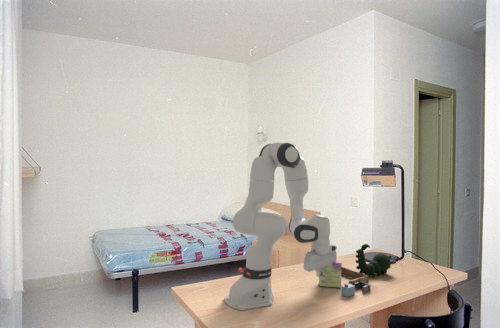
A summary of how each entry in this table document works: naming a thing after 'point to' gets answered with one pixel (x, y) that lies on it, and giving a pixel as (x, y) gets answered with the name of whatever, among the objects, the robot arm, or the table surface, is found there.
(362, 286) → the bracket
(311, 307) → the table surface
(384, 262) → the toy figurine
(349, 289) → the blue block with knob
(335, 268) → the box
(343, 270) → the wooden square frame
